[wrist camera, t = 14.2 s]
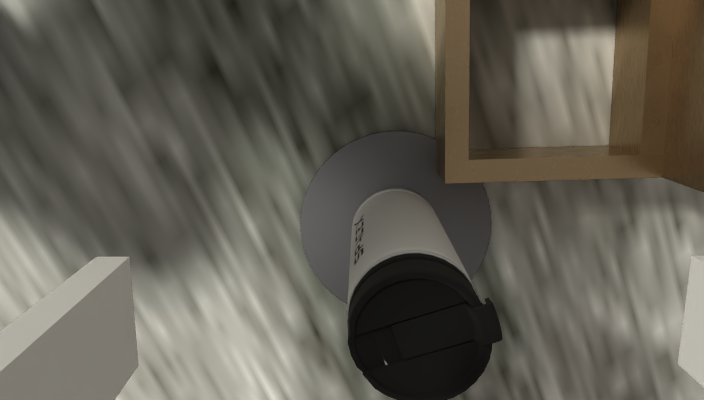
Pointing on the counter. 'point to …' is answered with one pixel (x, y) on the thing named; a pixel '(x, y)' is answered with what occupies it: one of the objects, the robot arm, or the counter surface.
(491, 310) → the travel mug
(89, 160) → the counter surface
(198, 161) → the counter surface
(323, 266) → the mat
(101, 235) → the counter surface
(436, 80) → the brown wooden open box
